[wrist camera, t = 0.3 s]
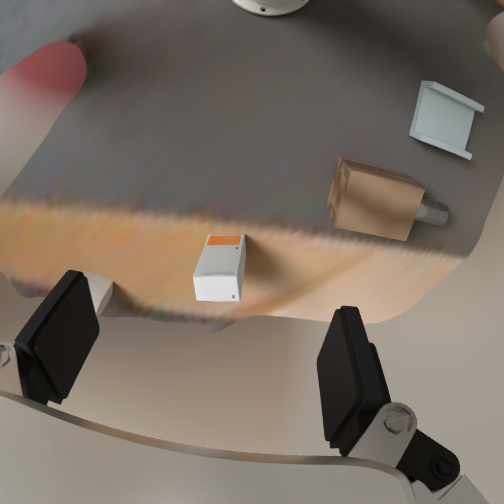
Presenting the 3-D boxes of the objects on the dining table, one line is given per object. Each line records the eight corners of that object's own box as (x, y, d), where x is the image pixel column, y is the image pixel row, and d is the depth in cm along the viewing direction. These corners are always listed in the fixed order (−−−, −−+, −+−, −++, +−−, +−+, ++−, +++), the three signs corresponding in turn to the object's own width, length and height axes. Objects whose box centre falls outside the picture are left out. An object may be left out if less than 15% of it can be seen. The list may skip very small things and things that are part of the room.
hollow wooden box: (338, 155, 42) (351, 170, 36) (404, 173, 43) (424, 189, 36) (326, 205, 47) (335, 227, 40) (389, 218, 47) (405, 241, 41)
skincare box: (245, 232, 50) (238, 276, 39) (246, 255, 52) (241, 302, 42) (207, 233, 50) (191, 276, 40) (210, 256, 52) (196, 302, 42)
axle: (340, 197, 44) (346, 208, 41) (347, 175, 42) (353, 184, 39) (433, 219, 45) (442, 230, 42) (441, 200, 43) (451, 210, 40)
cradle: (421, 80, 35) (433, 81, 32) (471, 103, 36) (484, 106, 32) (408, 135, 40) (419, 140, 36) (458, 153, 40) (470, 160, 37)
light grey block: (83, 269, 55) (60, 301, 47) (113, 280, 56) (92, 314, 48) (83, 283, 57) (61, 315, 49) (112, 294, 58) (92, 328, 49)
